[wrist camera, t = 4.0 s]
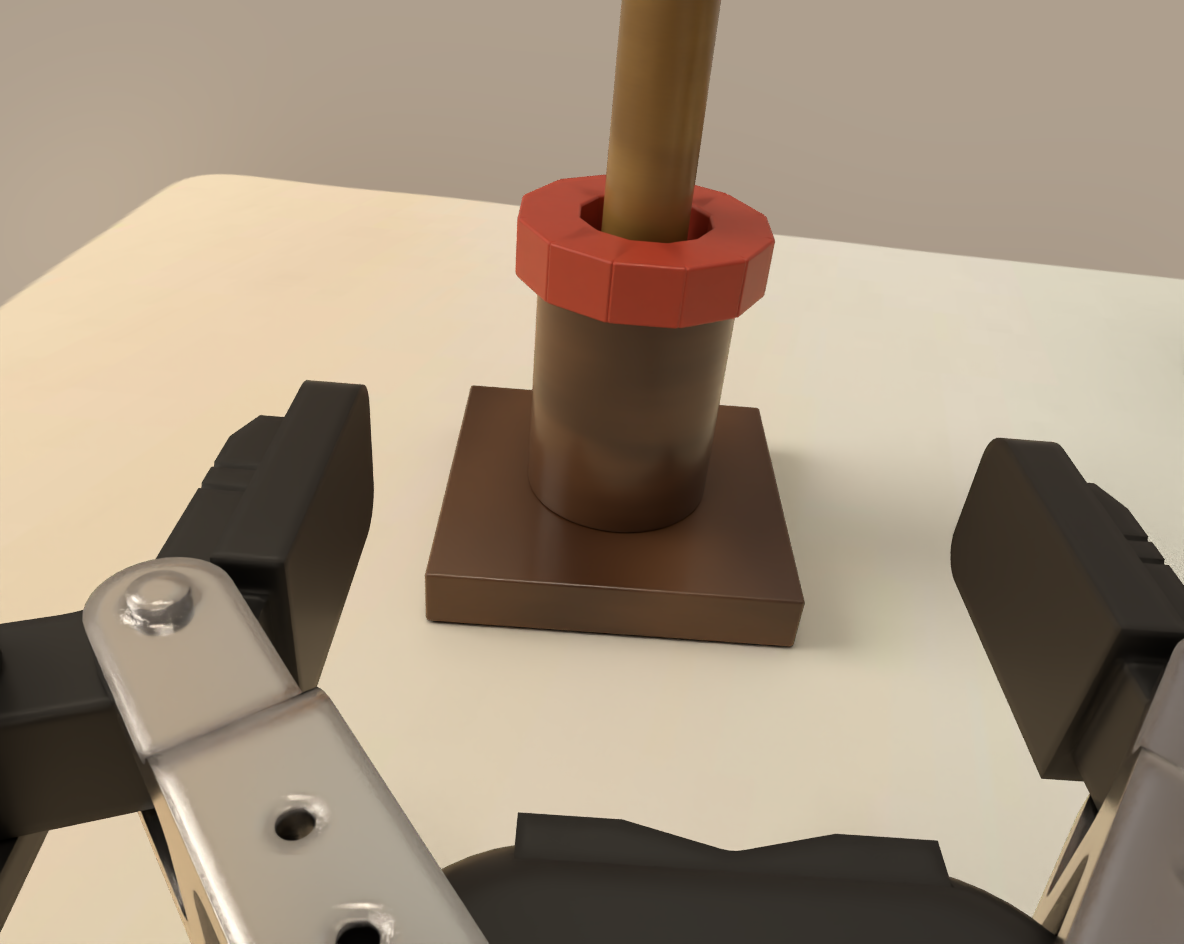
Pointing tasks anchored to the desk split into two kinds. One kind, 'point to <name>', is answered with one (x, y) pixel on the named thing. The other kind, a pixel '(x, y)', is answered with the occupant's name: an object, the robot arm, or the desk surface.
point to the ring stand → (624, 424)
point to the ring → (642, 259)
